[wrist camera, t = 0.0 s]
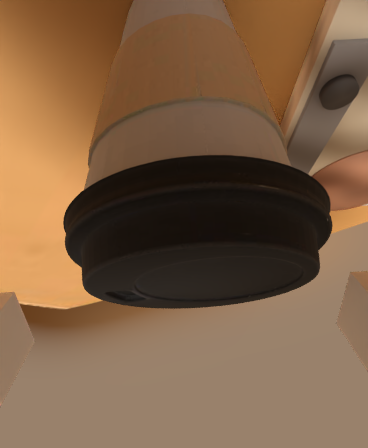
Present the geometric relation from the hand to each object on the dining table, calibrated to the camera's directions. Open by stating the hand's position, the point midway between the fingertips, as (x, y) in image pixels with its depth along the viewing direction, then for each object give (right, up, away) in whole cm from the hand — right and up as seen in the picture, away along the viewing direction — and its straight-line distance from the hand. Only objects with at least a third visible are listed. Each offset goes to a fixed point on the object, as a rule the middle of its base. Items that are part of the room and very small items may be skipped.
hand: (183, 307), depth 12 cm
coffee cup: (0, +15, +5) cm, 16 cm away
